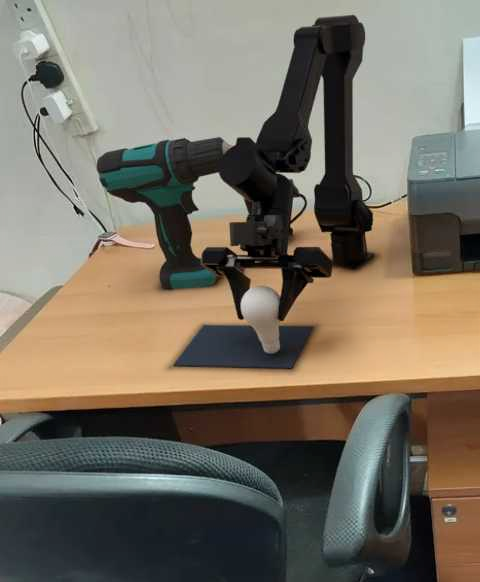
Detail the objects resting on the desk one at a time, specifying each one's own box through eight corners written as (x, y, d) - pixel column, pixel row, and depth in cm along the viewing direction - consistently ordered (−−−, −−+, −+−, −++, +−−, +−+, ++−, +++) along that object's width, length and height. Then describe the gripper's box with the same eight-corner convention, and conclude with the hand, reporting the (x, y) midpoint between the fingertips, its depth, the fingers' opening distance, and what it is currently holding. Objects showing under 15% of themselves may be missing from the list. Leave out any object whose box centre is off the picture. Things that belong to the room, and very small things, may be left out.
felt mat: (313, 327, 107) (313, 326, 107) (292, 369, 98) (291, 367, 98) (203, 326, 112) (203, 325, 112) (173, 366, 103) (173, 364, 103)
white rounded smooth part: (256, 368, 99) (239, 302, 92) (250, 348, 104) (233, 284, 97) (296, 357, 100) (281, 291, 93) (288, 338, 104) (274, 274, 97)
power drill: (274, 262, 129) (245, 125, 113) (264, 283, 122) (232, 141, 106) (148, 271, 133) (103, 140, 117) (132, 292, 126) (82, 155, 110)
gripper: (187, 193, 92) (174, 303, 91) (312, 189, 87) (300, 306, 86) (224, 224, 103) (213, 323, 102) (338, 223, 98) (327, 327, 97)
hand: (260, 319), depth 96 cm, fingers closed on white rounded smooth part, 6 cm apart
